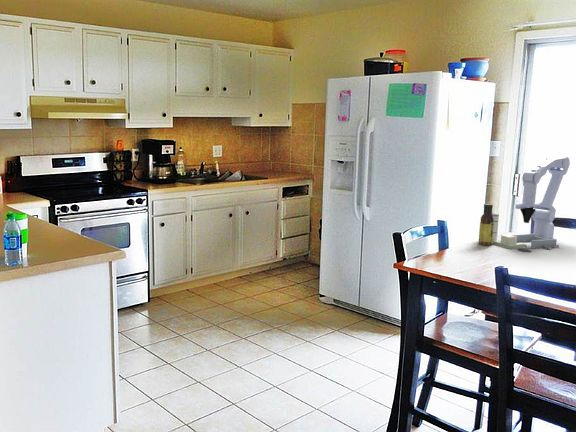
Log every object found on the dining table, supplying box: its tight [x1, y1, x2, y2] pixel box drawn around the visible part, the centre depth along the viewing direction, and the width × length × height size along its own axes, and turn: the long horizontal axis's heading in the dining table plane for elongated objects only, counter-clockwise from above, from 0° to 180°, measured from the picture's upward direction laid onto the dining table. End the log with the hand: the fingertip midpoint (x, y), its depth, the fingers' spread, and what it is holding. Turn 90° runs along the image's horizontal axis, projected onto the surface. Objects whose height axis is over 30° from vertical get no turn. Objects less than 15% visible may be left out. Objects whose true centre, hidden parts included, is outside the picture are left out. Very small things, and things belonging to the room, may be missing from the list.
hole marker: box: [516, 248, 532, 253], centre depth 256 cm, size 6×6×1 cm
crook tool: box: [541, 244, 560, 251], centre depth 263 cm, size 10×4×1 cm, turn 112°
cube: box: [500, 234, 518, 245], centre depth 265 cm, size 5×5×5 cm
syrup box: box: [492, 211, 500, 243], centre depth 273 cm, size 6×6×14 cm
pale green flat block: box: [492, 239, 528, 250], centre depth 265 cm, size 10×11×2 cm
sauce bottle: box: [478, 203, 494, 247], centre depth 264 cm, size 7×6×20 cm
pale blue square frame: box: [511, 233, 558, 249], centre depth 271 cm, size 15×14×4 cm
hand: (526, 222), depth 274 cm, fingers closed
